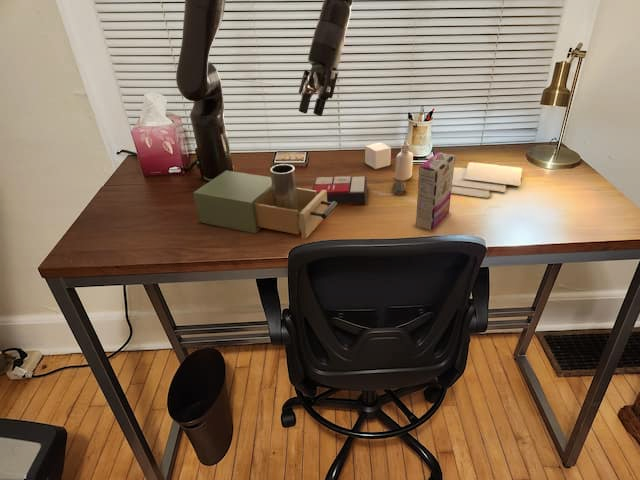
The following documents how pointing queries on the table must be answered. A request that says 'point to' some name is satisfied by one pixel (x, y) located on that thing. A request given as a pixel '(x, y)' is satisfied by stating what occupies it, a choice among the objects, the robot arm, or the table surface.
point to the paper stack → (484, 179)
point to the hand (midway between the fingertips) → (309, 113)
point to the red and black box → (343, 189)
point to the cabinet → (231, 200)
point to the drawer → (293, 212)
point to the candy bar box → (434, 190)
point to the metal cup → (284, 186)
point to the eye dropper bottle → (404, 163)
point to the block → (399, 188)
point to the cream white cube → (377, 155)
